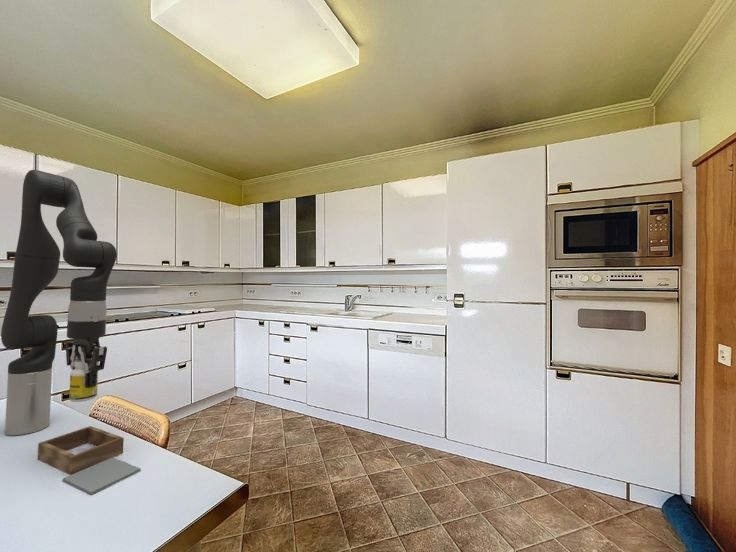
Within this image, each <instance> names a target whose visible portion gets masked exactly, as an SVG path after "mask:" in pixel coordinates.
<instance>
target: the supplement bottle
mask: <svg viewBox="0 0 736 552" xmlns="http://www.w3.org/2000/svg"><path fill="white" fill-rule="evenodd" d="M91 359H92V358H91ZM87 360H90V359H87ZM90 366H91V363H90ZM74 367H76V368H75V369H74V370H72V369H71V371H70V376H69V394H68V395H69V396H68V399H69V401H70V402H72V403H81V402H87V401H90V400H94V399H96V397H98V382H99V381H98V380H99V371H98V372H97V385H96V386H95V387H91V388H86V387H85V374H86V370H85V365H84V364H82V361H81V359H79V360H76V361H75V363H74Z"/></svg>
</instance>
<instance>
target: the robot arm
mask: <svg viewBox="0 0 736 552" xmlns="http://www.w3.org/2000/svg"><path fill="white" fill-rule="evenodd" d="M21 196H22V197H21V199H22V200H21V215H20V216H21V218H20V225H19V226H20V228H19V233H18V238H17V239H18V240H17V245H16V250H15V255H14V262H13V271H12V272H13V273H12V281H11V287H10V288H11V289H10V294H9V298H8V302H7V306H6V310H5V312H4V313H5V314H4V317H3V321H2V325H1V331H0V336H1V338H0V339H1V344H2V345H3V346H4V347H3V348H6V349H8V350H20V349H28V348H30V350H29V351H28V352H27V353H25V354H24V355H23V356H21V357H18V358H16V359H14V360H12V361H11V362H10V363H8V364H7V365H8V366H7V386H6V400H5V401H6V402H5V403H6V404H5V407H6V408H5V420H4V421H5V422H4V424H5V425H4V434H5V435H6V436H21V435H27V434H28V435H29V434H31V433H36V432H39V431H42V430H44V429H47V428H48V427H49V426H50V424H51V423H50V421H51V420H50V419H51V403H52V402H51V401H52V380H53V379H52V378H53V363H54V360H55V358H56V349H57V348H56V347H57V343H58V342H57V341H58V323H57V321H56V319H55V318H54V317H53V315H49V314H39V315H38V314H37V315H29V314H30V311H31V308H32V306H33V303H34V302H35V300H36V299H37V297H39V295H40V294H41V293H42V292H43V291H44V290H45V289H46V288H47V287H48V286H49V285H50V284H51V283H52V282H53V281H54V279H55V278H56V277H57V275H58V273H59V267H60V262H61V261H60V259H61V250H60V248H59V246H58V244H57V242H56V240H55V239H54V238H53V236H52V234H51V233H50V232H49V230H48V228H47V226H46V224H45V222H44V220H43V216H42V208H41V207H42V205H44V206H48V207H56V208H63V209H62V211H60V212H59V213H58V215H57V216H56V219H55V220H56V222H55V223H56V228H57V231H58V232H59V234H60V236H61V238H62V240H63V247H62V248H63V249H62V258H63V261H64V262H65V263H66V264H68V265H69V266H71V267H75V268H91V269H92V268H93V269H94V271H93V272H92V273H91V274H89V275H85V276H78V277H75V278H73V279H72V280H71V283H70V294H69V295H70V296H69V297H70V298H69V300H70V301H69V304H68V309H67V323H66V324H67V325H66V326H67V327H66V337H67V339H70V340H72V341H67V342H66V343H65V358H66V366H68V367H69V366H70V367H69V368H70V369H71V371H72V370H74V369H75V368H76V367H74V363H75V361H76V360H79V359H81V361H82V364H84V365H85V370H86V374H85V387H86V388H91V387H95V386H96V385H97V372H98V373H99V371H101V370H104V369H105V365H106V364H105V363H106V358H107V351H108V347H107V346H101V345H100V338H103V337H104V336H105V335H106V331H107V330H106V328H107V310H108V309H107V285H108V282H109V279H110V277H111V273H112V270H113V268H114V266H115V263H116V261H117V258H118V257H117V256H118V253H117V252H118V251H117V248H116V247H115V245H114V244H112V243H111V242H110V241H103V240H98V233H97V231H96V230H95V228H94V226H93V225H92V223H91V222H90V220H89V218H88V217H87V213H86V210H85V206H84V202H83V199H82V195H81V192H80V189H79V187H78V185H77V183H76V182H75V181H74V180H73V179H71V178H69V177H66V176H62V175H58V174H54V173H50V172H46V171H41V170H39V169H30V170H28V171H27V172H26V174H25V176H24V179H23V184H22V195H21ZM91 358H92V359H91ZM87 359H90V360H87ZM90 363H91V366H90Z"/></svg>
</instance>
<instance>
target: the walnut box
mask: <svg viewBox="0 0 736 552" xmlns="http://www.w3.org/2000/svg"><path fill="white" fill-rule="evenodd" d="M124 441H125V439H124V437H123V436H120V435H118V434H114V433H111V432H108V431H105V430H103V429H100V428H97V427H94V426H91V425H89V426H86V427H83V428H80V429H77V430H74V431H71V432H69V433H64V434H62V435H59V436H56V437H53V438H50V439H46V440H44V441H41V442H38V445H37V459H36V460H37V461H40V462H41V463H44V464H46V465H48V466H50V467H53V468H54V469H57V470H59V471H61V472H63V473H65V474H67V475H68V476H70V475H72V474H74V473H77V472H79V471H81V470H84V469H86V468H89V467H91V466H93V465H96V464H98V463H100V462H103V461H105V460H107V459H110V458H112V457H113V458H115V457H118V456H120V455H122V453H123V454H124ZM86 444H90V445H91V446H94V447H91V448H88V449H86V450H83V451H80V452H78V453H72V452H69V450H72V449H75V448H78V447H80V446H83V445H86Z"/></svg>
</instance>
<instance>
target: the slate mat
mask: <svg viewBox="0 0 736 552" xmlns="http://www.w3.org/2000/svg"><path fill="white" fill-rule="evenodd" d="M139 472H141V468H140V467H138V466H135V465H133V464H130V463H129V462H125V461H123V460H120V459H118V458H115V457H112V458H110V459H107V460H105V461H103V462H100V463H98V464H96V465H93V466H91V467H89V468H86V469H84V470H81V471H79V472H77V473H74V474H72V475H67V476H66V477H63V478H62V482H64V483H66V484H68V485H69V486H72V487H73V488H75V489H77V490H79V491H81V492H83V493H86V494H87V495H89V496H93V495H95V494H97V493H100V492H101V491H103V490H105V489H107V488H110V487H111V486H114V485H115V484H117V483H119V482H121V481H123V480H126V479H127V478H129V477H132V476H134V475H135V474H138V473H139Z"/></svg>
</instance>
